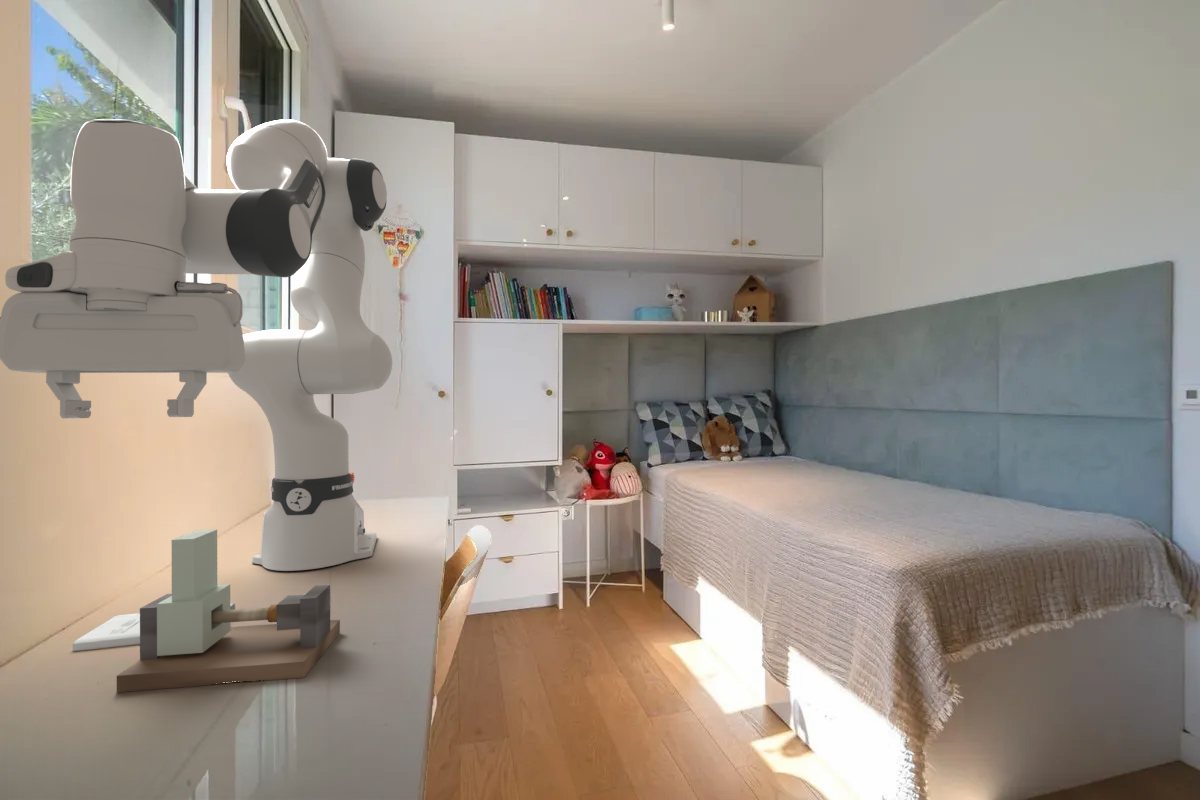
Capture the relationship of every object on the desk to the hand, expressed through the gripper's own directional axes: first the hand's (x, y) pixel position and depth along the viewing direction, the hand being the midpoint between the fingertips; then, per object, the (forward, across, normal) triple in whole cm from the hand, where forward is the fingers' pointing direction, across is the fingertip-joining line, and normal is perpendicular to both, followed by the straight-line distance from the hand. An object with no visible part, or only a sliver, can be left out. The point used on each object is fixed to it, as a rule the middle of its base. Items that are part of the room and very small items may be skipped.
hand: (128, 417), depth 53 cm
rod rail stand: (+25, -10, 0) cm, 27 cm away
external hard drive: (+26, +3, -10) cm, 28 cm away
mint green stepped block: (+23, -6, 0) cm, 24 cm away
